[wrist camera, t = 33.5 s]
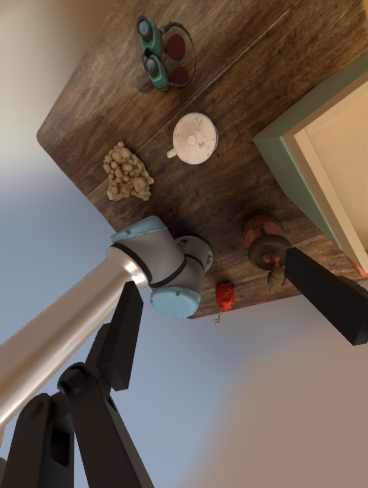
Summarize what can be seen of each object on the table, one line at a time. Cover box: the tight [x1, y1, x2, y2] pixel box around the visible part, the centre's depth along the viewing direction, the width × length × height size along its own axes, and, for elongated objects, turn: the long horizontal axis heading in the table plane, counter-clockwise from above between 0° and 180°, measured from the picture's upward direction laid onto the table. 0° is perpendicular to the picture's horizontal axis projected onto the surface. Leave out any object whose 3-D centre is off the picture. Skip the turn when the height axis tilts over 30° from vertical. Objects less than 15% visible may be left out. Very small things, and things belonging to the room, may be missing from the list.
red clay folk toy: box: [215, 282, 235, 323], centre depth 58 cm, size 8×7×15 cm
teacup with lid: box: [167, 112, 218, 165], centre depth 38 cm, size 12×9×12 cm
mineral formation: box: [103, 142, 154, 201], centre depth 47 cm, size 8×13×15 cm
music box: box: [243, 215, 292, 292], centre depth 42 cm, size 15×11×20 cm
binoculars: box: [136, 16, 196, 91], centre depth 32 cm, size 9×11×10 cm
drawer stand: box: [252, 53, 368, 273], centre depth 26 cm, size 14×18×30 cm
